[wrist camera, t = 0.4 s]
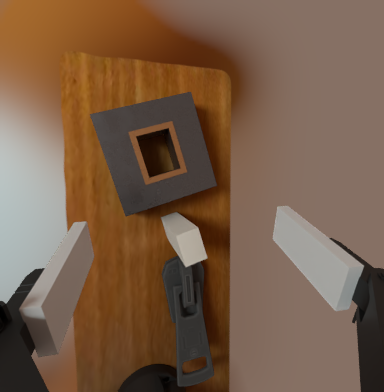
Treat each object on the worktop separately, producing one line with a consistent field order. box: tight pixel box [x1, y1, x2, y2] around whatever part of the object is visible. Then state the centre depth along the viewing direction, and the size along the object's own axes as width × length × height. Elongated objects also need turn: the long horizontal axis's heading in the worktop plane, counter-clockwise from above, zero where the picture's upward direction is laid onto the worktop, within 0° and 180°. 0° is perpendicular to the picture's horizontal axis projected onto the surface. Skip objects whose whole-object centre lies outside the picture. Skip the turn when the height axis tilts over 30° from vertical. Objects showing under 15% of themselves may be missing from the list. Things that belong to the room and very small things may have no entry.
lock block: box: [90, 92, 217, 216], centre depth 44 cm, size 18×18×6 cm
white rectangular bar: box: [161, 212, 207, 267], centre depth 41 cm, size 5×4×16 cm
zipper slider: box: [162, 256, 214, 387], centre depth 48 cm, size 9×7×25 cm
